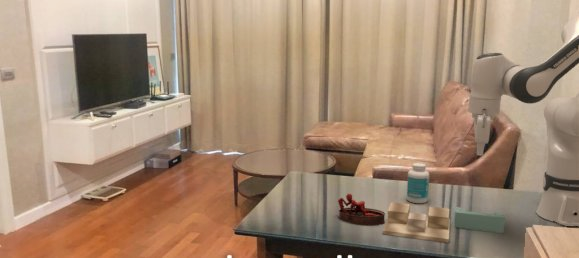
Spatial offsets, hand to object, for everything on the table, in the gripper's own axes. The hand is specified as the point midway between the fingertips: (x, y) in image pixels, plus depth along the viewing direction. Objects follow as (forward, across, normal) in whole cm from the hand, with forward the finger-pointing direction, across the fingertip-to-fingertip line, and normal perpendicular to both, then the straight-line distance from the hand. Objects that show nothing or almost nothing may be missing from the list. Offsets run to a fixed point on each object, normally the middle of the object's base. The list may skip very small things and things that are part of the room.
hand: (479, 151), depth 149 cm
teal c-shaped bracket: (+24, +1, -2) cm, 24 cm away
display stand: (+24, -10, +16) cm, 31 cm away
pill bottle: (+24, +16, +18) cm, 34 cm away
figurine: (+25, -8, +34) cm, 43 cm away
